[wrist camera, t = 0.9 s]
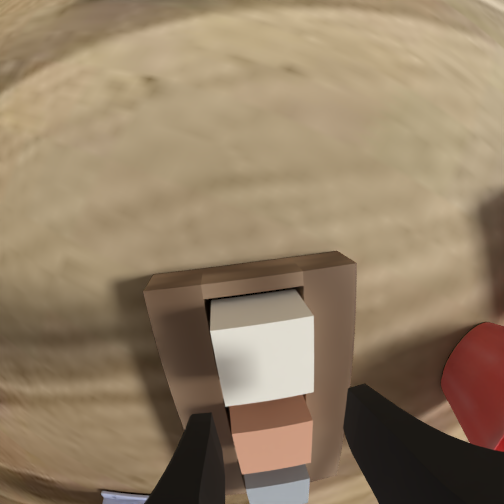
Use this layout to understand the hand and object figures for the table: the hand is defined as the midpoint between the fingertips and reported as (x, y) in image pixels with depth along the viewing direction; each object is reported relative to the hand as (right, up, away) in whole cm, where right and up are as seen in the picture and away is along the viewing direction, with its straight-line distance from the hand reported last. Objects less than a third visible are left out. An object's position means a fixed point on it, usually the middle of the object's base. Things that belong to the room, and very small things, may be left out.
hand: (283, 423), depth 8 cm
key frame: (0, -4, +10) cm, 10 cm away
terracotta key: (0, -4, +8) cm, 9 cm away
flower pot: (+19, -4, +12) cm, 23 cm away
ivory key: (-1, +2, +6) cm, 6 cm away
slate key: (0, -10, +9) cm, 14 cm away
